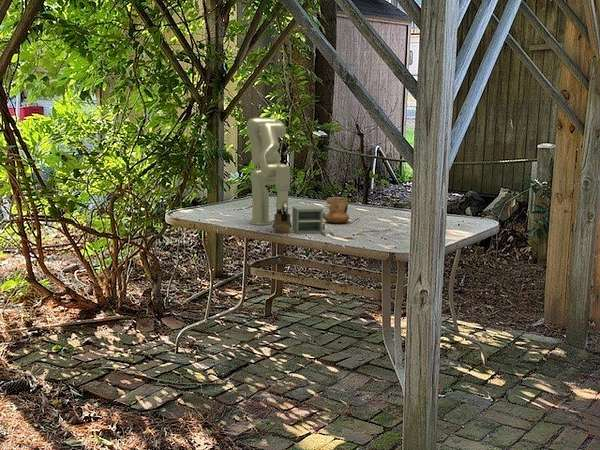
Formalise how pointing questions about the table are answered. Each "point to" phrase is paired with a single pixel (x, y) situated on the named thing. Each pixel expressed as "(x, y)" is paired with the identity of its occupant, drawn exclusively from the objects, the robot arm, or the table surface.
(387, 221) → the table surface
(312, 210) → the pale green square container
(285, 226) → the tan rectangular block
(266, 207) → the robot arm
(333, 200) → the ceramic jug
